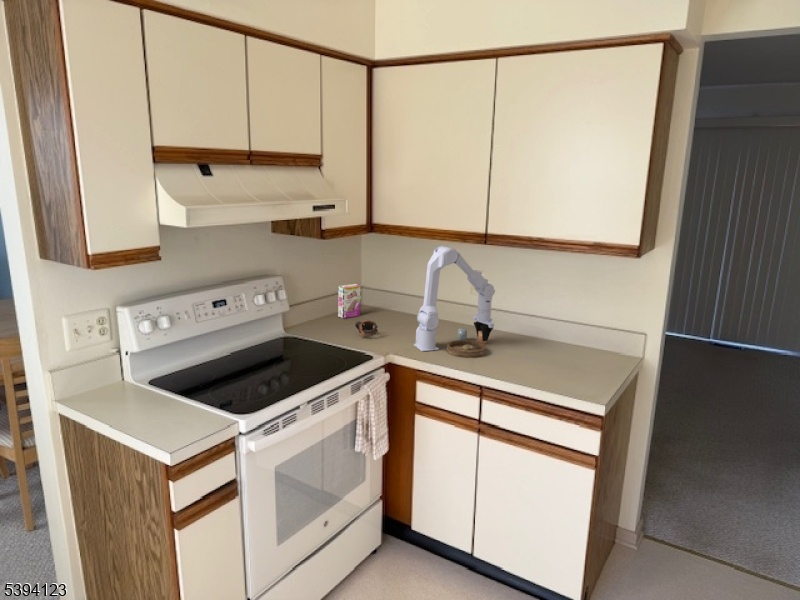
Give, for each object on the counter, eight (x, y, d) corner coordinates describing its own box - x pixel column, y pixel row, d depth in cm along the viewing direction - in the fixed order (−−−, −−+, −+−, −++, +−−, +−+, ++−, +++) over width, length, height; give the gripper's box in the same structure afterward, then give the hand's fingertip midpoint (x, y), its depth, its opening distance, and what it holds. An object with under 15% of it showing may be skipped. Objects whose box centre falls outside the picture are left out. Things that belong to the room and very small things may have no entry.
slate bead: (456, 339, 246) (456, 328, 245) (463, 338, 248) (464, 327, 247) (460, 341, 243) (460, 331, 242) (468, 341, 244) (468, 330, 243)
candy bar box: (343, 319, 276) (343, 287, 272) (337, 317, 279) (337, 285, 276) (361, 316, 283) (361, 285, 279) (355, 314, 286) (355, 283, 283)
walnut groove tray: (440, 347, 234) (440, 341, 233) (473, 344, 240) (473, 338, 239) (457, 359, 219) (457, 353, 219) (492, 355, 225) (492, 349, 224)
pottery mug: (382, 335, 252) (382, 322, 246) (371, 348, 246) (370, 335, 240) (360, 325, 256) (359, 312, 250) (348, 338, 250) (348, 325, 244)
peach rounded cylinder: (476, 341, 243) (476, 330, 242) (484, 340, 245) (484, 330, 244) (480, 344, 240) (481, 333, 239) (488, 343, 241) (489, 332, 240)
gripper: (501, 312, 234) (498, 343, 237) (484, 305, 247) (482, 334, 250) (486, 314, 231) (484, 344, 234) (470, 306, 244) (468, 335, 247)
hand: (482, 339), depth 242 cm, fingers closed on peach rounded cylinder, 4 cm apart
